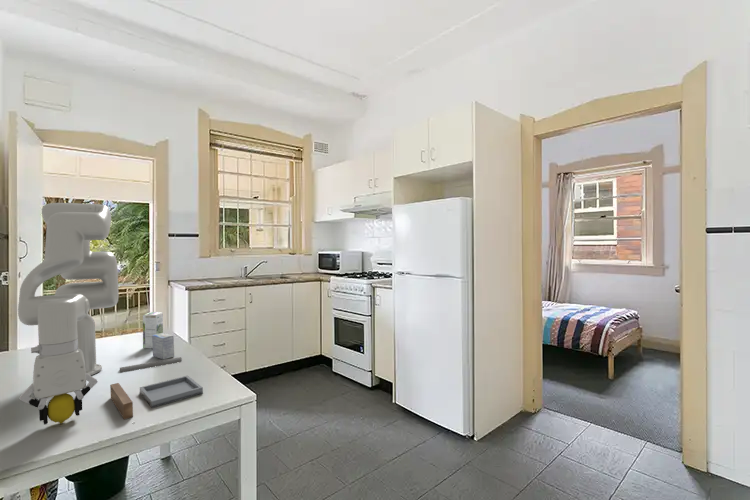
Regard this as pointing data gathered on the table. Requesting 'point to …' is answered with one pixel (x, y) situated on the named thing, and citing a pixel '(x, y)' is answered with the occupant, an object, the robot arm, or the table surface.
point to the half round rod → (150, 364)
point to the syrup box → (151, 327)
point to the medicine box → (163, 346)
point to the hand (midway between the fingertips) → (61, 417)
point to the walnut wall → (121, 401)
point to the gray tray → (170, 391)
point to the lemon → (60, 408)
